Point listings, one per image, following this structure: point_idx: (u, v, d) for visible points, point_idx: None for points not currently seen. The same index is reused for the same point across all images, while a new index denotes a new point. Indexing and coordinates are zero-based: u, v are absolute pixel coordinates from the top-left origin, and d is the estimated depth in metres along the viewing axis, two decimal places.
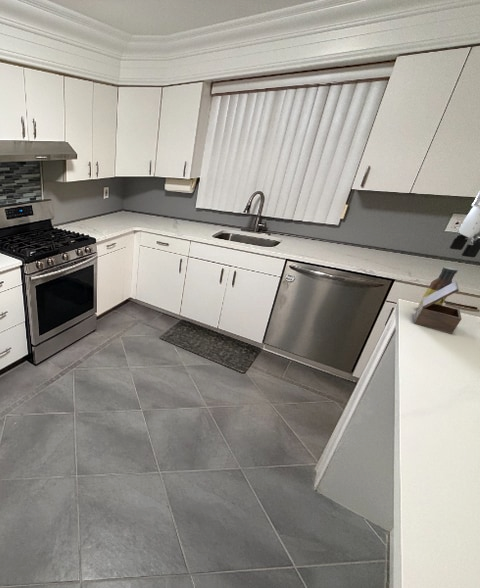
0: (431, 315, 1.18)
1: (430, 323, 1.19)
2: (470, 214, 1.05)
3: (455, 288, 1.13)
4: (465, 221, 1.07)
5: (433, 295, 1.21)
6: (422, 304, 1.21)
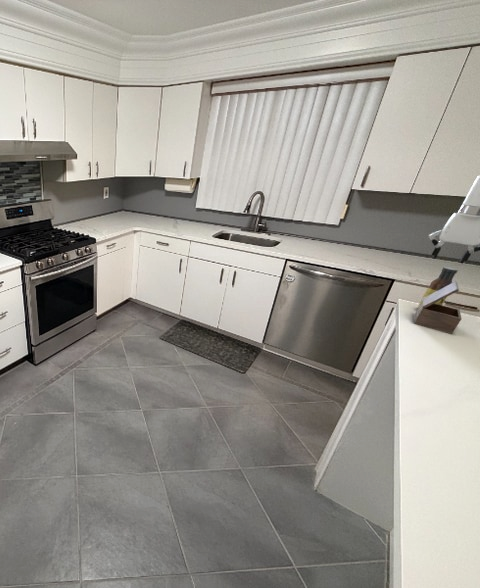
0: (431, 315, 1.18)
1: (430, 323, 1.19)
2: (463, 224, 1.08)
3: (455, 288, 1.13)
4: (454, 230, 1.10)
5: (433, 295, 1.21)
6: (422, 304, 1.21)
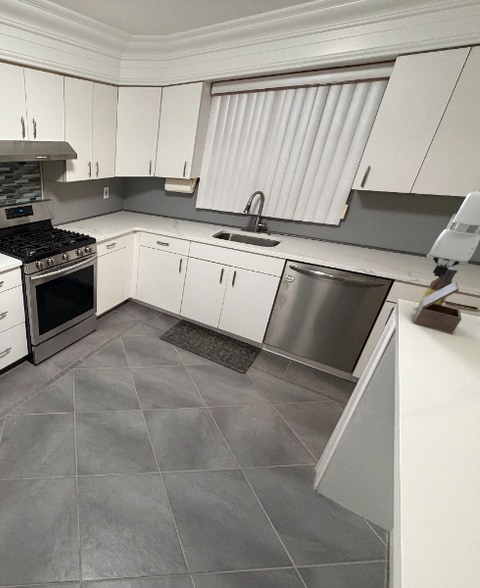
0: (431, 315, 1.18)
1: (430, 323, 1.19)
2: (453, 240, 1.11)
3: (455, 288, 1.13)
4: (445, 246, 1.13)
5: (433, 295, 1.21)
6: (422, 304, 1.21)
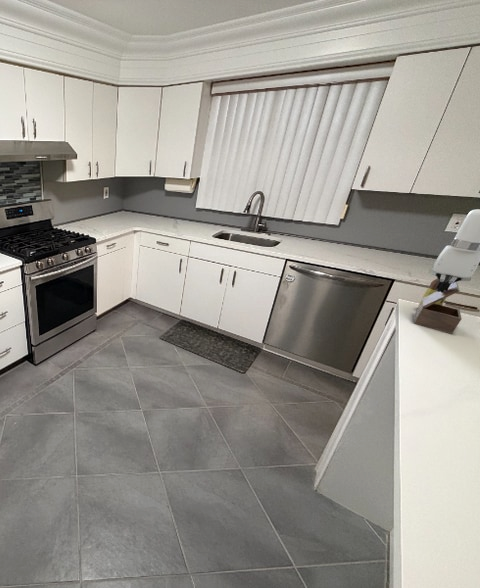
0: (431, 315, 1.18)
1: (430, 323, 1.19)
2: (455, 257, 1.11)
3: (456, 288, 1.13)
4: (447, 262, 1.13)
5: (433, 295, 1.21)
6: (422, 304, 1.21)
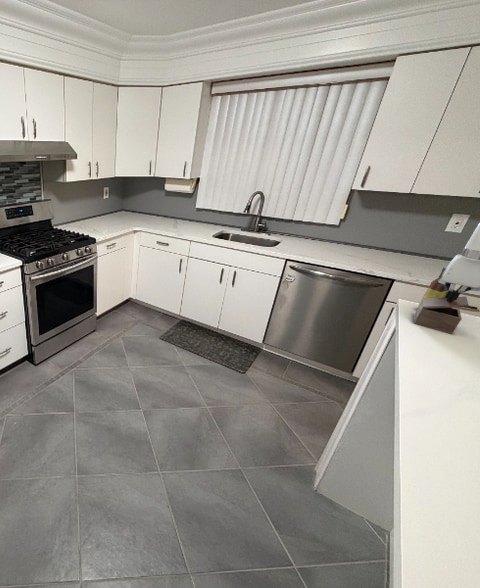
0: (431, 315, 1.18)
1: (430, 323, 1.19)
2: (465, 266, 1.10)
3: (466, 303, 1.12)
4: (457, 272, 1.12)
5: (437, 300, 1.21)
6: (423, 304, 1.21)
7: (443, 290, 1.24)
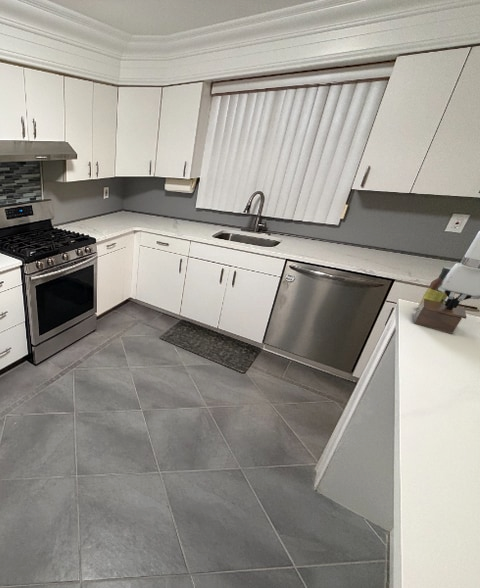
0: (431, 315, 1.18)
1: (430, 323, 1.19)
2: (465, 275, 1.11)
3: (464, 315, 1.13)
4: (456, 280, 1.13)
5: (437, 304, 1.21)
6: (424, 304, 1.21)
7: None
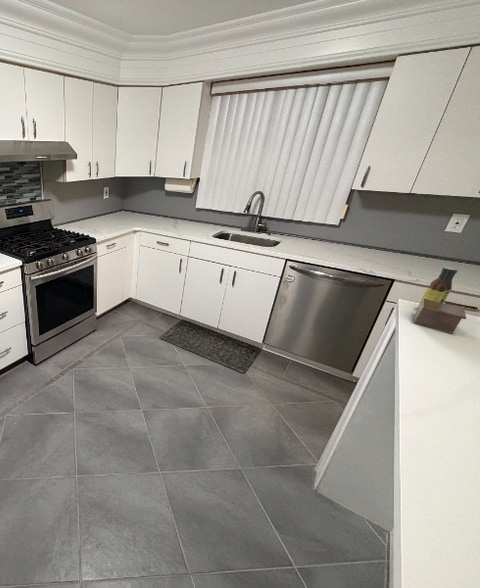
0: (431, 315, 1.18)
1: (430, 323, 1.19)
2: None
3: (464, 315, 1.13)
4: None
5: (437, 304, 1.21)
6: (424, 304, 1.21)
7: (443, 290, 1.24)
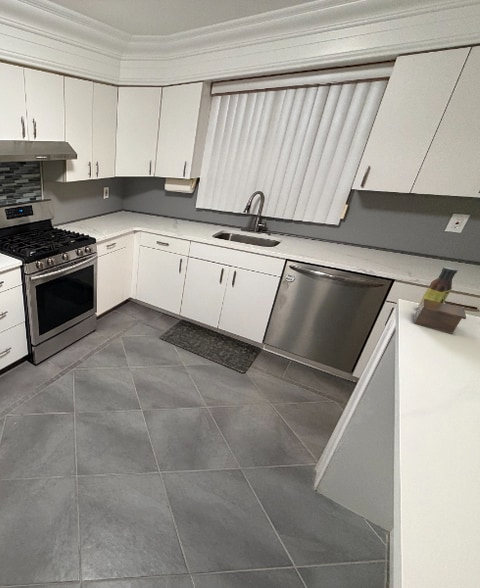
0: (431, 315, 1.18)
1: (430, 323, 1.19)
2: None
3: (464, 315, 1.13)
4: None
5: (437, 304, 1.21)
6: (424, 304, 1.21)
7: (443, 290, 1.24)
